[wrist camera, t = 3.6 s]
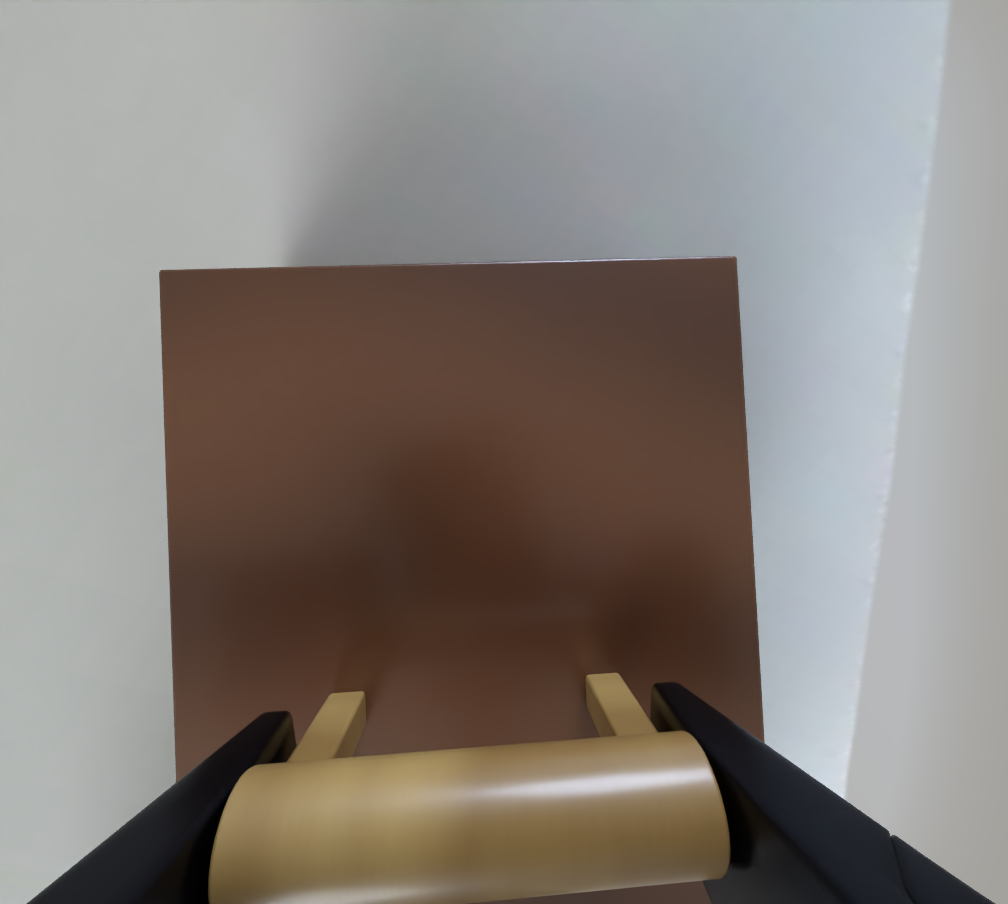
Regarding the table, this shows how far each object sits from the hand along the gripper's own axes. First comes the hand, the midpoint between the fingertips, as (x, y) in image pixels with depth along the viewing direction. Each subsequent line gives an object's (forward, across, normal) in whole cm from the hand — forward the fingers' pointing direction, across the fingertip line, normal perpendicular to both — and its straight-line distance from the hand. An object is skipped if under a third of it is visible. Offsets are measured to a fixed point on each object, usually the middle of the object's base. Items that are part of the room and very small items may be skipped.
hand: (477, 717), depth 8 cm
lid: (+2, 0, -1) cm, 3 cm away
